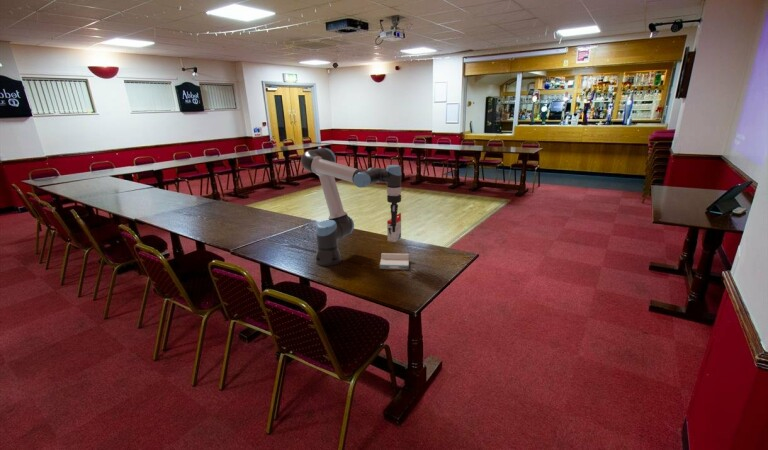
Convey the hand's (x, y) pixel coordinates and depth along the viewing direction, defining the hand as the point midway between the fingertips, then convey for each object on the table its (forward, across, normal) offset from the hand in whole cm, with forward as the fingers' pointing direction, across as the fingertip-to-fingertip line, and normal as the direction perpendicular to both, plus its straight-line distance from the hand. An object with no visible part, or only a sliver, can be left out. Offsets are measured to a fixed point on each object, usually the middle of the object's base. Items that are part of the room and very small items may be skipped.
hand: (394, 234), depth 200 cm
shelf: (+19, 0, 0) cm, 19 cm away
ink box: (+3, 0, 0) cm, 3 cm away
